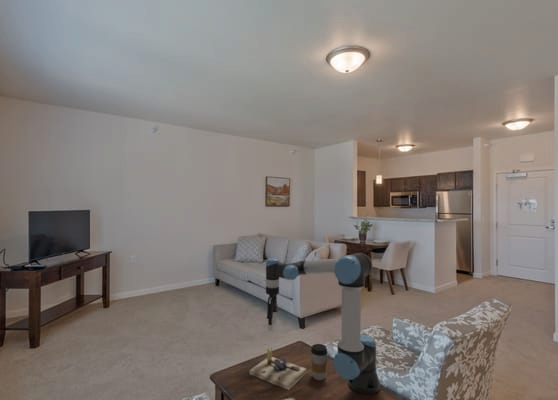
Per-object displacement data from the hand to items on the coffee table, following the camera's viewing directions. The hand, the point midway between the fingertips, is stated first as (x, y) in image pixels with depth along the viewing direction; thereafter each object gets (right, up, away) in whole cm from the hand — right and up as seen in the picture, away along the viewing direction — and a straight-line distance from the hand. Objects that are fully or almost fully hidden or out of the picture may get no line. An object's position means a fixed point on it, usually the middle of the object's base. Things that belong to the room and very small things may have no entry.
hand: (272, 326), depth 165 cm
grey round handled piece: (+4, -16, -10) cm, 19 cm away
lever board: (+4, -19, -12) cm, 23 cm away
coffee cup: (+24, -19, -15) cm, 34 cm away
